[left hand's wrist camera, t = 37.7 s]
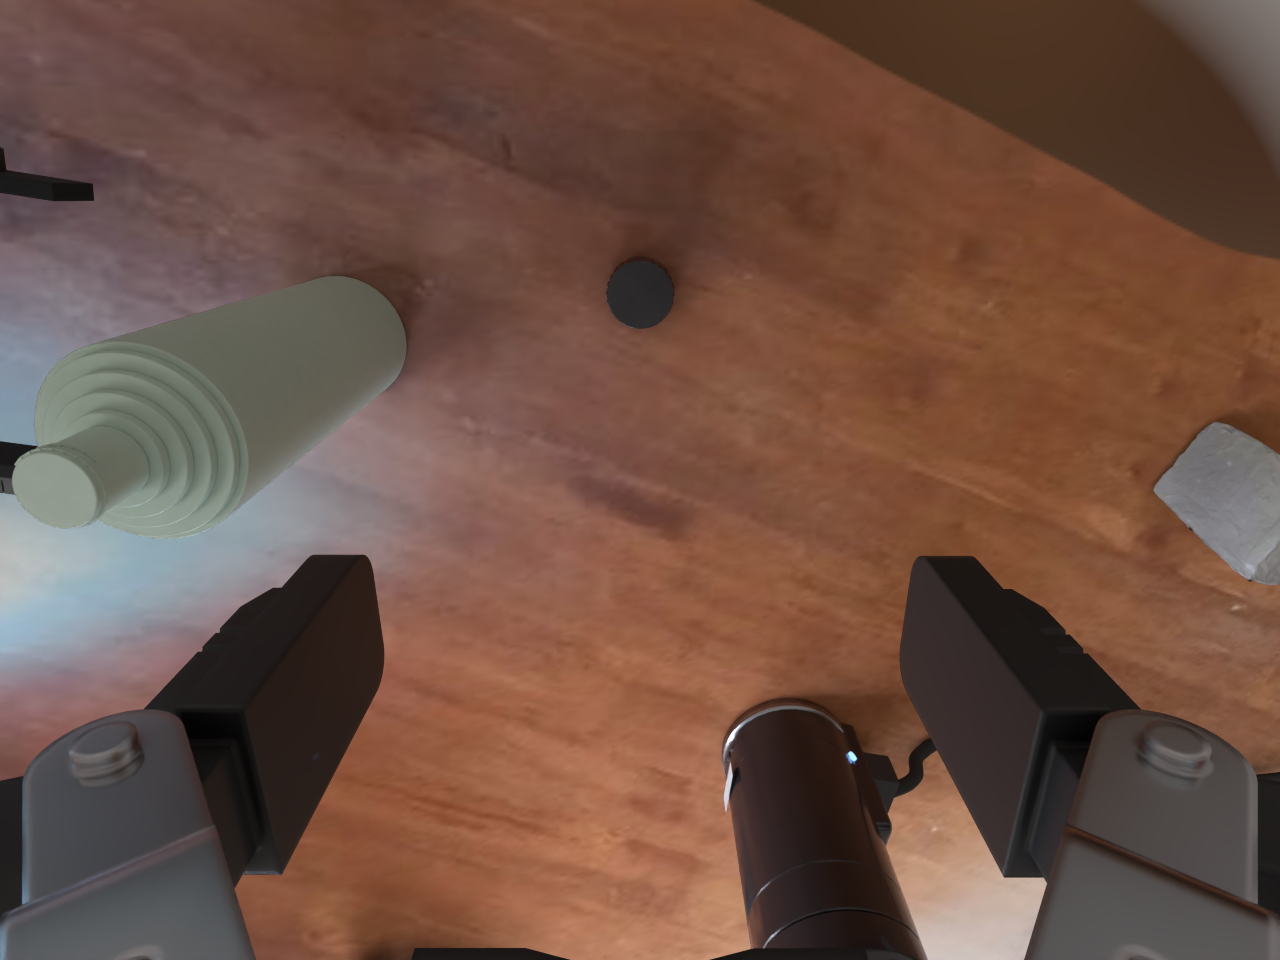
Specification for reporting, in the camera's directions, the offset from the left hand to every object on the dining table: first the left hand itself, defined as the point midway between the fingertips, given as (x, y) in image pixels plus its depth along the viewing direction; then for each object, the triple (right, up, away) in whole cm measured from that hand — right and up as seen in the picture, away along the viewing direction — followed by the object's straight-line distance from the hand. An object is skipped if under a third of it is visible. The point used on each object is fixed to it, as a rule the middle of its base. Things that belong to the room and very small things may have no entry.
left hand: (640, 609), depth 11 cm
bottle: (-18, +10, +35) cm, 40 cm away
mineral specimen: (+37, +2, +38) cm, 53 cm away
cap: (0, +13, +32) cm, 34 cm away
